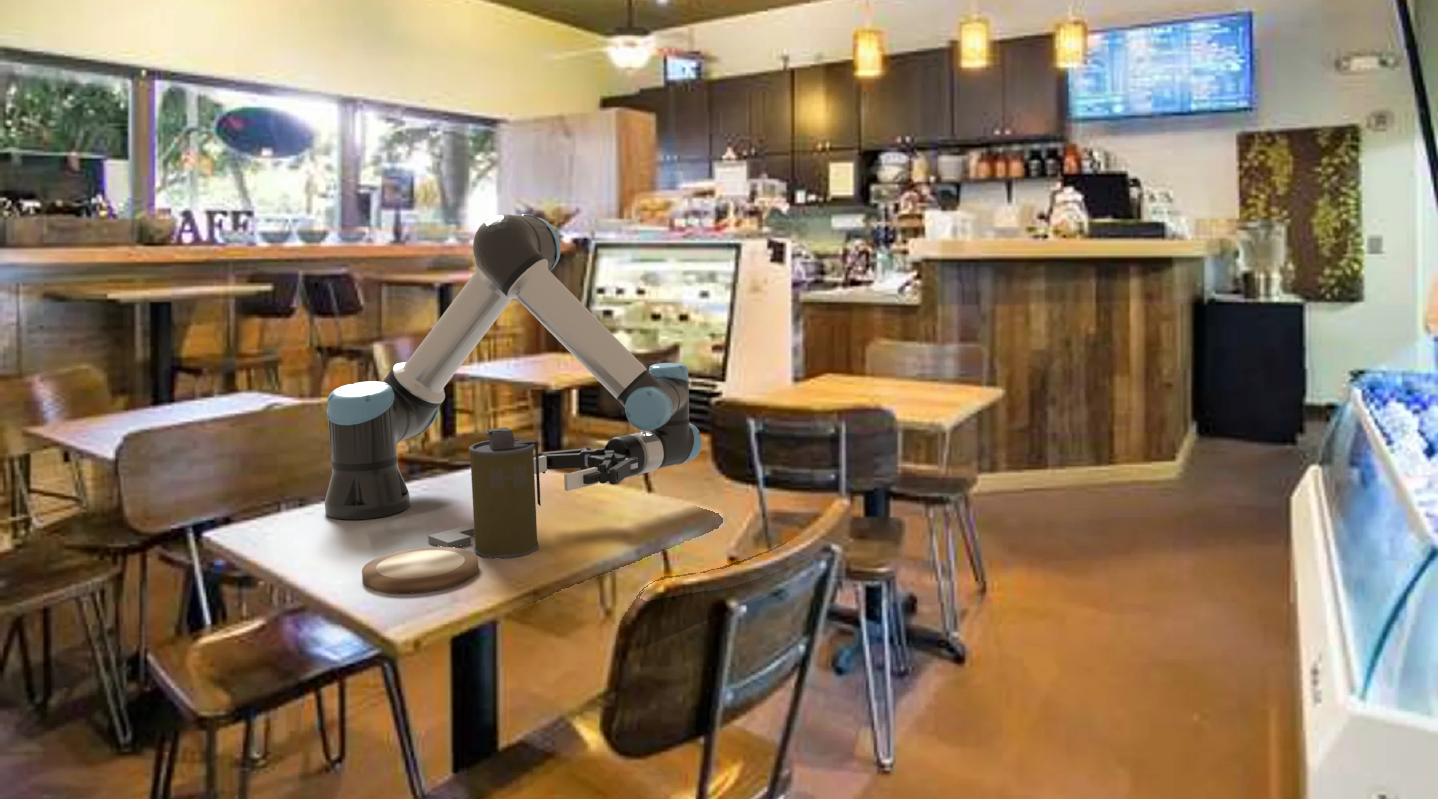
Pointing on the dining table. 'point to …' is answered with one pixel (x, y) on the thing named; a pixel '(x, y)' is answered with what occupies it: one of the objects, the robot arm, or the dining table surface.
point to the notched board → (453, 537)
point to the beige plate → (420, 570)
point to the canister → (504, 495)
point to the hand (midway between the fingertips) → (539, 476)
